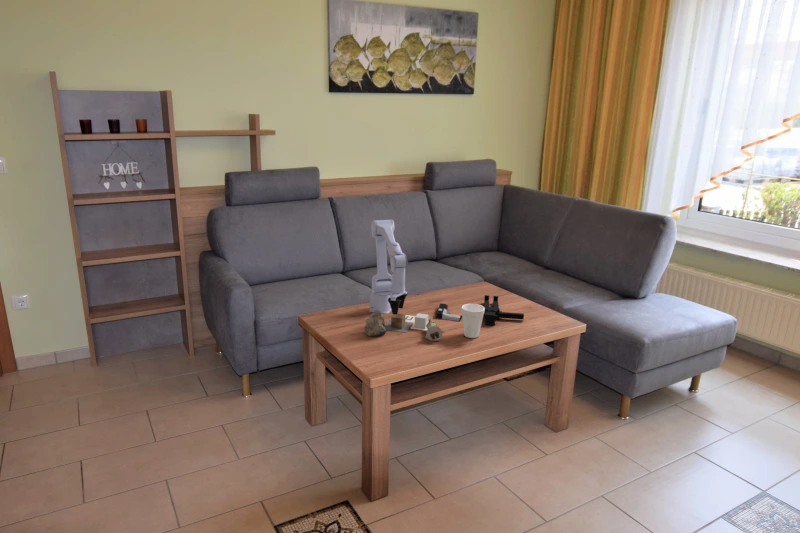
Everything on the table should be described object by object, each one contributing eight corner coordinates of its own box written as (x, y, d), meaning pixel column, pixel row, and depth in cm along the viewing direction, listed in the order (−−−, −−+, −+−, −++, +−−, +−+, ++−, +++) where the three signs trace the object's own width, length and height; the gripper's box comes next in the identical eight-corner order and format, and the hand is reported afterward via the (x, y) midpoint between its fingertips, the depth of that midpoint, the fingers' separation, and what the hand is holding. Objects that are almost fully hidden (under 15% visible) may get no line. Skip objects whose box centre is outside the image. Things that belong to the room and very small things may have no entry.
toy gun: (463, 305, 273) (439, 302, 274) (461, 317, 257) (435, 314, 259) (462, 311, 273) (438, 308, 275) (460, 323, 258) (434, 320, 260)
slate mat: (381, 329, 247) (381, 329, 247) (389, 321, 257) (389, 320, 257) (405, 333, 244) (405, 332, 244) (412, 324, 254) (412, 323, 254)
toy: (520, 297, 280) (525, 315, 251) (519, 308, 282) (524, 327, 253) (464, 293, 284) (463, 310, 255) (464, 304, 285) (462, 322, 256)
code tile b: (410, 328, 249) (410, 328, 248) (415, 322, 256) (415, 321, 256) (427, 331, 246) (427, 330, 246) (432, 325, 254) (432, 324, 254)
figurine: (447, 339, 234) (442, 327, 249) (441, 324, 232) (437, 312, 247) (428, 346, 234) (424, 334, 249) (422, 331, 233) (419, 319, 247)
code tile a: (397, 321, 257) (397, 320, 257) (403, 315, 265) (403, 314, 265) (414, 323, 255) (414, 322, 255) (419, 317, 262) (419, 316, 262)
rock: (364, 343, 240) (374, 331, 233) (355, 320, 245) (365, 307, 238) (382, 341, 245) (392, 329, 238) (373, 318, 250) (383, 306, 243)
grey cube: (414, 327, 249) (414, 317, 248) (417, 323, 254) (417, 313, 253) (425, 329, 248) (425, 318, 247) (428, 325, 253) (428, 314, 251)
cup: (458, 339, 239) (459, 310, 235) (461, 330, 248) (462, 302, 245) (481, 341, 237) (483, 312, 233) (483, 332, 246) (485, 304, 243)
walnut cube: (391, 327, 248) (391, 317, 247) (394, 323, 253) (394, 313, 252) (401, 329, 247) (402, 318, 246) (405, 325, 252) (405, 314, 250)
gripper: (402, 287, 237) (401, 317, 240) (411, 278, 250) (410, 306, 254) (386, 285, 239) (385, 315, 242) (396, 276, 252) (396, 304, 256)
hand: (397, 310), depth 248 cm, fingers open, 7 cm apart
